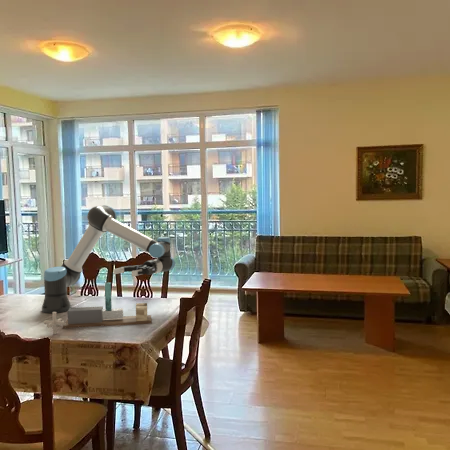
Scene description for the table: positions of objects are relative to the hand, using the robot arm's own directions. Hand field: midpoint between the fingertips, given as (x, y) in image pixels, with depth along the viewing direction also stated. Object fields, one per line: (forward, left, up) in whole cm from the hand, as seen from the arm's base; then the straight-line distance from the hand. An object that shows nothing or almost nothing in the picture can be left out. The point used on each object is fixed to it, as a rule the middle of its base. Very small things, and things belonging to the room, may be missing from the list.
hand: (123, 272), depth 234 cm
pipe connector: (+21, -30, -24) cm, 44 cm away
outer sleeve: (+7, -18, -23) cm, 30 cm away
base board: (+7, -7, -24) cm, 26 cm away
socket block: (+7, +9, -23) cm, 25 cm away
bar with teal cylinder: (+7, -12, -21) cm, 26 cm away
